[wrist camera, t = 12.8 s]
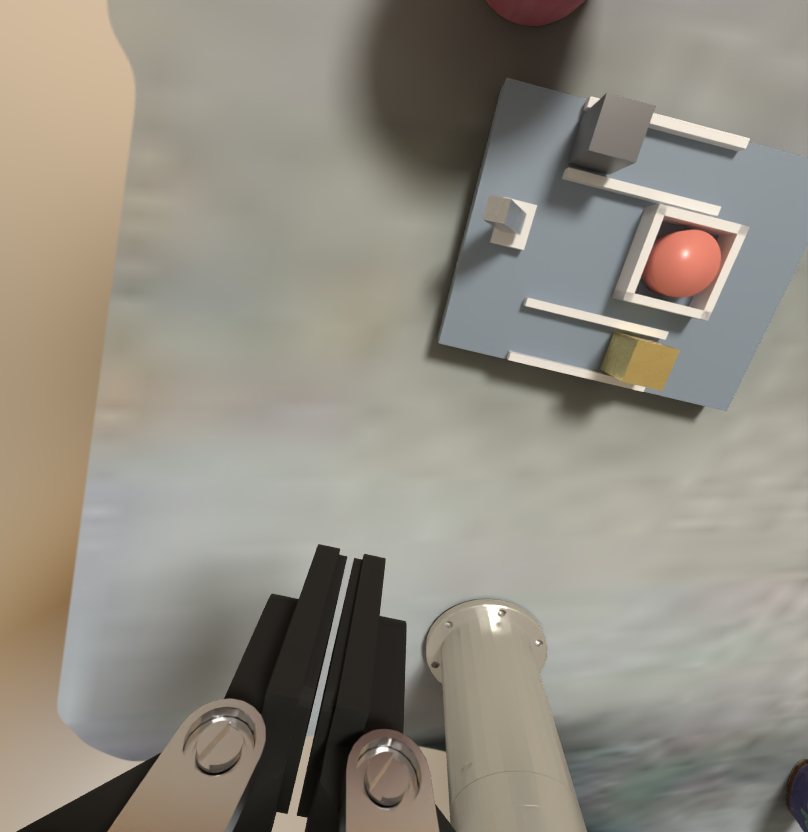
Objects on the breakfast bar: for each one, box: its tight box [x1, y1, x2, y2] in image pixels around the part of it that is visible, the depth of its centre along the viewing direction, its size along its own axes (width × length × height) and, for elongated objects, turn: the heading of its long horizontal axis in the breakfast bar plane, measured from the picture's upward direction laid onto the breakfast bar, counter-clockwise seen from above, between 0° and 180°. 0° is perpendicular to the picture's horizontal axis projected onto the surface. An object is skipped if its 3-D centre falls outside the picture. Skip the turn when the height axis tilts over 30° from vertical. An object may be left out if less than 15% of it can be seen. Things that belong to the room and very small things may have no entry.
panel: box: [438, 78, 808, 411], centre depth 33 cm, size 18×24×4 cm
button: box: [641, 230, 721, 297], centre depth 32 cm, size 4×4×2 cm
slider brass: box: [600, 331, 680, 391], centre depth 33 cm, size 3×3×4 cm
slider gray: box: [568, 93, 656, 175], centre depth 29 cm, size 3×3×4 cm
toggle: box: [483, 195, 527, 235], centre depth 29 cm, size 1×1×5 cm
